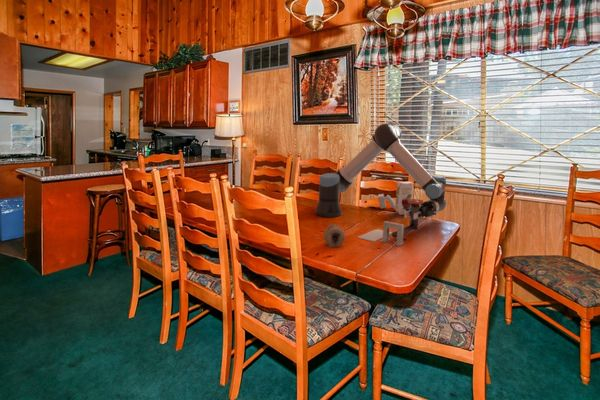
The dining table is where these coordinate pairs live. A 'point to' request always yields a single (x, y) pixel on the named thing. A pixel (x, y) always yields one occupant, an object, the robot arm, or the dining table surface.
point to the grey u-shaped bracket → (399, 232)
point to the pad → (373, 235)
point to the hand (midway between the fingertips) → (409, 215)
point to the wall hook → (382, 201)
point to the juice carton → (403, 196)
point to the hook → (413, 222)
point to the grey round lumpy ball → (334, 236)
